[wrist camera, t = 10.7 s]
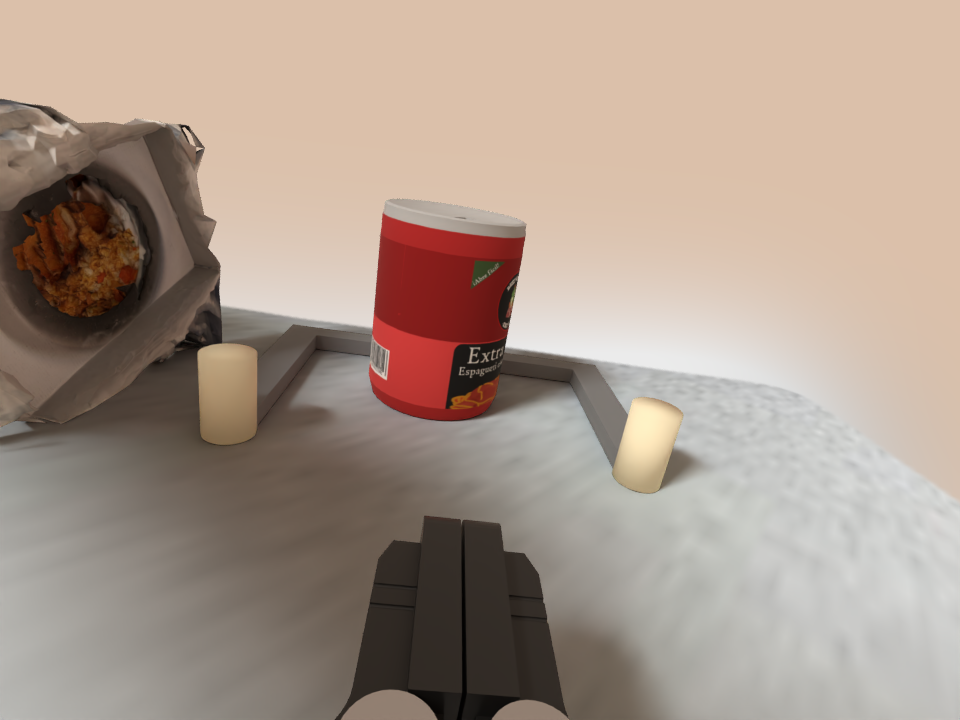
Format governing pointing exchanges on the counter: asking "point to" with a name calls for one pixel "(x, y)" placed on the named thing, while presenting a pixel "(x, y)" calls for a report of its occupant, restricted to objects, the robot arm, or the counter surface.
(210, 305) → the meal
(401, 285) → the canned food
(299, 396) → the counter surface
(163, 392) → the counter surface
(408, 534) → the counter surface
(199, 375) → the frame
